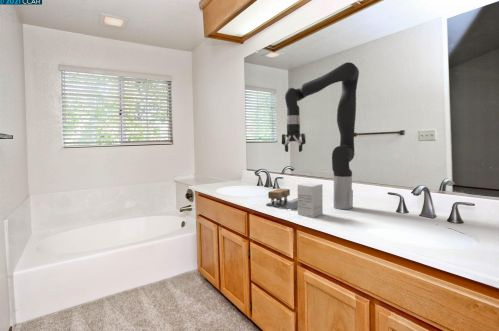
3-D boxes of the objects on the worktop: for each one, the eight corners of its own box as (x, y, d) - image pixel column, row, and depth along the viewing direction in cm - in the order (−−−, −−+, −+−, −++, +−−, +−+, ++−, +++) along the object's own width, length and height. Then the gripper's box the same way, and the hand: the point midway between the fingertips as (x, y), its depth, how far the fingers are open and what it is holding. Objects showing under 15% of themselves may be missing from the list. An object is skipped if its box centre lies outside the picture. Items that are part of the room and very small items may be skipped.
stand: (298, 204, 158) (298, 197, 157) (303, 205, 156) (303, 198, 156) (286, 209, 146) (286, 201, 146) (292, 210, 144) (292, 202, 144)
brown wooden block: (280, 194, 166) (280, 188, 165) (289, 195, 162) (289, 189, 162) (268, 198, 154) (268, 192, 154) (278, 199, 151) (278, 193, 151)
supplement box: (307, 211, 141) (307, 182, 140) (323, 214, 135) (323, 184, 134) (297, 214, 135) (296, 184, 134) (312, 217, 129) (312, 186, 128)
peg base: (291, 203, 162) (291, 195, 161) (280, 207, 150) (280, 199, 150) (278, 201, 167) (278, 194, 167) (266, 205, 156) (266, 197, 155)
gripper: (307, 123, 158) (307, 151, 159) (285, 124, 166) (285, 151, 168) (301, 122, 152) (302, 152, 153) (279, 124, 160) (279, 152, 161)
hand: (293, 151), depth 160 cm, fingers open, 8 cm apart
